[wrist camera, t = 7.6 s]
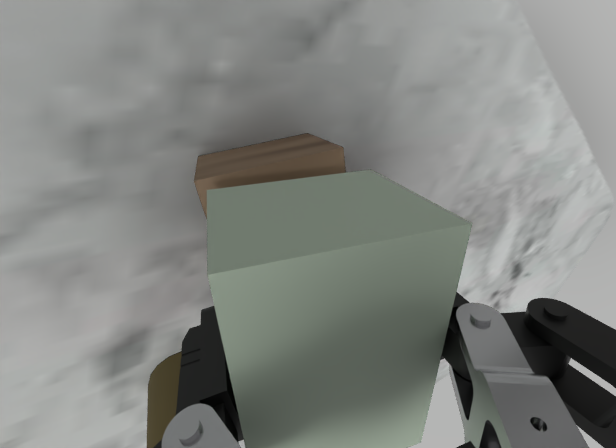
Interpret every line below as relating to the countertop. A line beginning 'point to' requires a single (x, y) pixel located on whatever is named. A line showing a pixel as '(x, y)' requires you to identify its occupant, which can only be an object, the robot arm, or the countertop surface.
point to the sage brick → (332, 306)
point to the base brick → (268, 163)
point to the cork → (162, 398)
